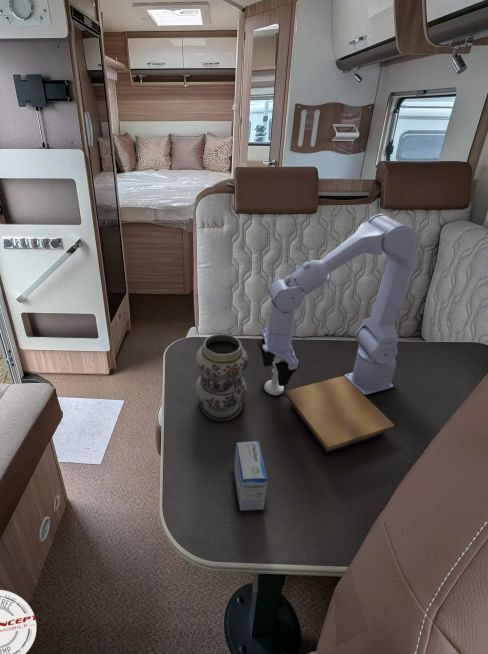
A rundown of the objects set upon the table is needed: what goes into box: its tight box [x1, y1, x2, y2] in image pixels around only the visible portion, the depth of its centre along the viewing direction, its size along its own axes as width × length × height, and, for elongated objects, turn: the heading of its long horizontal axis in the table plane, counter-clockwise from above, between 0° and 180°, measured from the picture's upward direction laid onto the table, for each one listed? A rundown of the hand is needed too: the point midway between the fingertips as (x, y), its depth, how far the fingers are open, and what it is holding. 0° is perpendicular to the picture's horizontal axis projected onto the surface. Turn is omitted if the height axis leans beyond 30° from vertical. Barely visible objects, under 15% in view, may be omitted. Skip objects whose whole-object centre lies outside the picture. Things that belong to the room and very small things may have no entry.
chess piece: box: [263, 356, 285, 396], centre depth 91 cm, size 5×5×10 cm
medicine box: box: [233, 440, 268, 512], centre depth 66 cm, size 8×4×9 cm, turn 5°
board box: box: [283, 375, 396, 454], centre depth 83 cm, size 17×17×4 cm
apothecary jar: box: [195, 333, 249, 422], centre depth 84 cm, size 12×12×18 cm
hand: (275, 374), depth 91 cm, fingers open, 7 cm apart
